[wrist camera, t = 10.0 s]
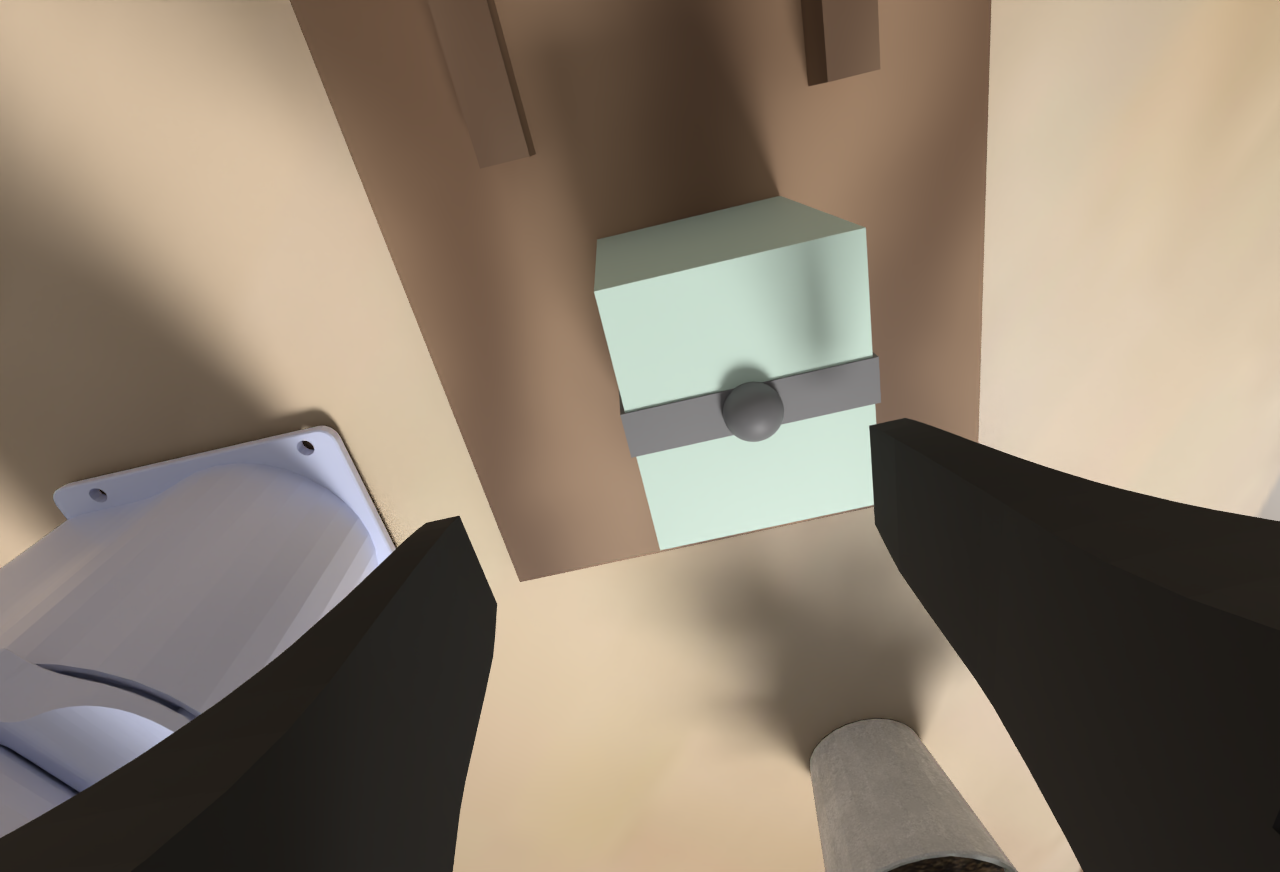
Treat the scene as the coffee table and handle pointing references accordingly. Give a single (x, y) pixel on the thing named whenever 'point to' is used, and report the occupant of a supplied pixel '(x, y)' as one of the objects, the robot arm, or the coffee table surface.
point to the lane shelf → (650, 203)
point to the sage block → (743, 366)
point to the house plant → (894, 806)
